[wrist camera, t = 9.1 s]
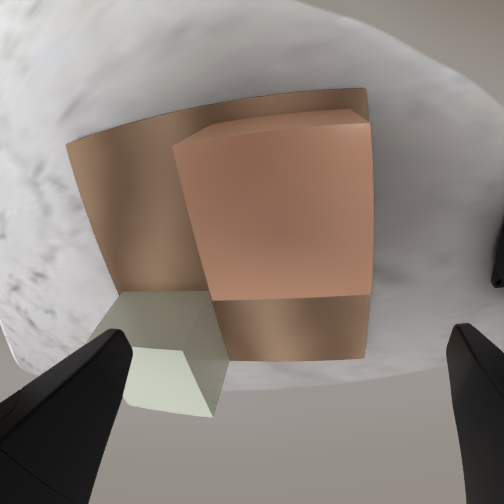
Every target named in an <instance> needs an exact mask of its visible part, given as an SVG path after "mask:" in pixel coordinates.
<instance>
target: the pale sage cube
mask: <svg viewBox="0 0 504 504" xmlns="http://www.w3.org/2000/svg"><path fill="white" fill-rule="evenodd" d="M111 328H113V329H121V330H122V331H123V332H124V333H125V335H126V337H127V339H128V341H129V343H130V345H131V347H132V350H133V358H132V362H131V365H130V369H129V373H128V377H127V381H126V385H125V389H124V393H123V398H124V399H125V400H126V402H127V403H128V404H129V405H132V406H137V407H143V408H148V409H153V410H159V411H166V412H172V413H180V414H187V415H195V416H203V417H213V416H214V413H215V410H216V406H217V402H218V399H219V396H220V392H221V389H222V385H223V382H224V378H225V375H226V371H227V368H228V364H229V361H230V360H229V357H228V354H227V351H226V348H225V344H224V341H223V338H222V335H221V331H220V328H219V325H218V321H217V318H216V315H215V311H214V308H213V304H212V301H211V298H210V294H209V291H123V292H122V293H121V294H120V296H119V297H118V298H117V300H116V301H115V302H114V304H113V305H112V306H111V308H110V309H109V311H108V312H107V313H106V315H105V316H104V318H103V319H102V320H101V322H100V323H99V325H98V326H97V327H96V329H95V330H94V332H93V333H92V335H91V336H90V338H89V339H88V340H87V343H88V342H90V341H91V340H93V339H94V338H96V337H97V336H99V335H100V334H102V333H103V332H104V331H106V330H108V329H111Z"/></svg>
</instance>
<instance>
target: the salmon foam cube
mask: <svg viewBox="0 0 504 504" xmlns="http://www.w3.org/2000/svg"><path fill="white" fill-rule="evenodd" d="M172 148H173V152H174V157H175V161H176V165H177V169H178V174H179V178H180V182H181V186H182V190H183V194H184V198H185V202H186V206H187V210H188V214H189V218H190V221H191V225H192V229H193V233H194V237H195V240H196V244H197V248H198V251H199V255H200V259H201V262H202V266H203V270H204V273H205V277H206V280H207V284H208V287H209V291H210V294H211V298H212V301H220V300H263V299H291V298H314V297H334V296H351V295H367V294H372V279H373V254H374V182H373V158H372V141H371V127H370V123H369V122H368V121H367V120H365V119H364V118H363V117H361V116H360V115H358V114H357V113H356V112H354V111H353V110H351V109H350V108H348V109H331V110H317V111H306V112H295V113H285V114H277V115H268V116H260V117H253V118H246V119H239V120H233V121H227V122H221V123H215V124H212V125H210V126H208V127H206V128H204V129H202V130H200V131H198V132H197V133H195V134H193V135H191V136H189V137H188V138H186V139H184V140H182V141H180V142H179V143H177V144H175V145H173V146H172Z"/></svg>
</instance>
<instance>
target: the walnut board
mask: <svg viewBox="0 0 504 504" xmlns="http://www.w3.org/2000/svg"><path fill="white" fill-rule="evenodd" d="M348 108H350V109H351V110H353V111H354V112H356V113H357V114H358V115H360V116H361V117H363V118H364V119H365V120H367V121H368V122H369V114H368V103H367V93H366V89H365V88H348V89H329V90H315V91H303V92H293V93H283V94H275V95H267V96H259V97H252V98H246V99H239V100H233V101H227V102H221V103H216V104H210V105H205V106H200V107H195V108H190V109H186V110H181V111H177V112H172V113H168V114H164V115H160V116H156V117H152V118H148V119H144V120H140V121H136V122H133V123H129V124H126V125H122V126H119V127H115V128H112V129H109V130H106V131H102V132H99V133H96V134H93V135H90V136H87V137H84V138H81V139H78V140H75V141H73V142H70V143H68V144H66V148H67V152H68V155H69V159H70V162H71V166H72V169H73V172H74V176H75V179H76V182H77V185H78V189H79V192H80V195H81V198H82V201H83V204H84V207H85V210H86V213H87V216H88V218H89V221H90V224H91V227H92V230H93V232H94V235H95V238H96V240H97V243H98V246H99V248H100V251H101V253H102V256H103V258H104V261H105V263H106V266H107V268H108V271H109V273H110V275H111V278H112V280H113V282H114V285H115V287H116V289H117V292H118V294H119V296H120V294H121V293H122V292H123V291H209V287H208V284H207V280H206V277H205V273H204V270H203V266H202V262H201V259H200V255H199V251H198V248H197V244H196V240H195V237H194V233H193V229H192V225H191V221H190V218H189V214H188V210H187V206H186V202H185V198H184V194H183V190H182V186H181V182H180V178H179V174H178V169H177V165H176V161H175V157H174V152H173V148H172V146H173V145H175V144H177V143H179V142H180V141H182V140H184V139H186V138H188V137H189V136H191V135H193V134H195V133H197V132H198V131H200V130H202V129H204V128H206V127H208V126H210V125H212V124H215V123H221V122H227V121H233V120H239V119H246V118H253V117H260V116H268V115H277V114H285V113H295V112H306V111H317V110H331V109H348ZM209 294H210V291H209ZM210 298H211V294H210ZM211 301H212V298H211ZM212 304H213V308H214V311H215V315H216V318H217V321H218V325H219V328H220V331H221V335H222V338H223V341H224V344H225V348H226V351H227V354H228V357H229V360H230V361H322V360H345V359H362V358H365V349H366V340H367V329H368V318H369V306H370V294H367V295H351V296H334V297H314V298H291V299H263V300H220V301H212Z"/></svg>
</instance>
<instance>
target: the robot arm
mask: <svg viewBox="0 0 504 504" xmlns="http://www.w3.org/2000/svg"><path fill="white" fill-rule="evenodd" d="M497 280H498V281H497ZM491 283H492V285H493V286H494V287H495V288H501V287H504V225H503V231H502V235H501V239H500V244H499V249H498V253H497V258H496V262H495V268H494V272H493V276H492V279H491ZM446 356H447V363H448V370H449V378H450V386H451V394H452V395H451V396H452V404H453V410H454V415H455V421H456V426H457V431H458V437H459V444H460V450H461V457H462V464H463V471H464V480H465V491H466V503H467V504H504V353H503V352H502V351H501V350H500V349H499V348H498V347H497V346H495V345H494V344H493V343H492V342H491V341H490V340H489V339H487V338H486V337H485V336H484V335H483V334H482V333H481V332H479V331H478V330H477V329H476V328H475V327H473V326H472V325H471V324H469V323H462V324H456V325H455V326H454V327H453V329H452V333H451V336H450V339H449V342H448V345H447V349H446ZM132 358H133V350H132V347H131V345H130V343H129V341H128V339H127V337H126V335H125V333H124V332H123V331H122V330H121V329H113V328H111V329H108V330H106V331H104V332H103V333H102V334H100V335H99V336H97V337H96V338H94V339H93V340H91V341H90V342H88V343H87V344H85V345H84V346H82V347H81V348H79V349H78V350H77V351H75V352H74V353H72V354H71V355H69V356H68V357H66V358H65V359H63V360H62V361H60V362H59V363H58V364H56V365H55V366H53V367H52V368H50V369H49V370H47V371H46V372H44V373H43V374H42V375H40V376H39V377H37V378H36V379H34V380H33V381H31V382H30V383H29V384H27V385H26V386H24V387H23V388H22V389H21V390H18V391H17V392H16V393H14V394H13V395H11V396H10V397H8V398H7V399H5V400H4V401H2V402H1V403H0V504H88V503H89V500H90V496H91V493H92V489H93V486H94V483H95V479H96V476H97V472H98V469H99V466H100V463H101V459H102V457H103V454H104V451H105V447H106V444H107V441H108V438H109V435H110V432H111V429H112V426H113V423H114V421H115V418H116V415H117V412H118V409H119V406H120V403H121V400H122V397H123V393H124V389H125V385H126V381H127V377H128V373H129V369H130V365H131V362H132Z"/></svg>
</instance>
